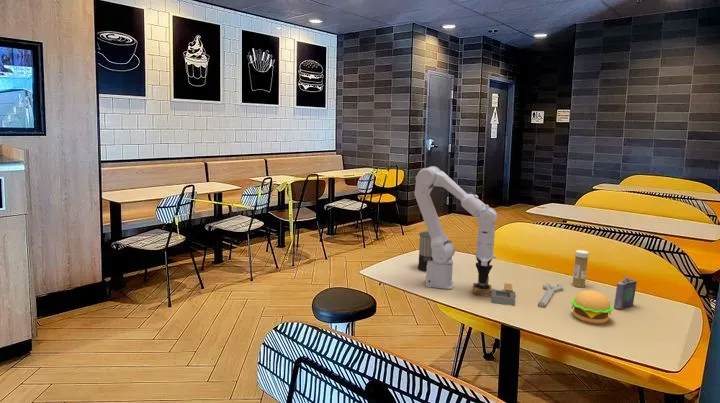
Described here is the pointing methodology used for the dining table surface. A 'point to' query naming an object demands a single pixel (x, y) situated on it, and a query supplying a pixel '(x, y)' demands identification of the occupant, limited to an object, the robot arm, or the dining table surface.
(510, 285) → the bar
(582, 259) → the sprinkles bottle
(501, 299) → the socket block
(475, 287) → the brown square tray
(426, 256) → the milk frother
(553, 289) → the adjustable wrench
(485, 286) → the grey knob
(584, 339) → the dining table surface
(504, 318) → the dining table surface
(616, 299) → the flask
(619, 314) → the dining table surface
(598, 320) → the hamburger
